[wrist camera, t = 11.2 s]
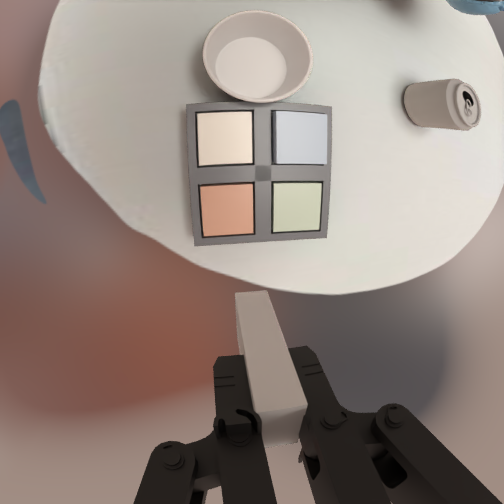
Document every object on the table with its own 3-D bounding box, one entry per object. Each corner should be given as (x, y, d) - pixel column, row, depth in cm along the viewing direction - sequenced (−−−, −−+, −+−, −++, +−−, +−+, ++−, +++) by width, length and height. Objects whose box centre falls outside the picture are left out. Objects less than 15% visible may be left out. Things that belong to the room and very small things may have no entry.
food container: (273, 124, 32) (286, 121, 26) (188, 88, 29) (182, 76, 23) (310, 54, 28) (329, 40, 22) (230, 18, 25) (234, -4, 19)
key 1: (269, 180, 33) (273, 183, 31) (314, 180, 34) (321, 183, 32) (269, 225, 36) (273, 231, 33) (312, 223, 36) (319, 229, 34)
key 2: (201, 183, 32) (200, 186, 30) (249, 181, 33) (252, 184, 31) (204, 229, 35) (203, 236, 32) (250, 226, 35) (253, 233, 33)
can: (434, 96, 32) (486, 96, 21) (428, 133, 35) (481, 141, 24) (404, 75, 30) (456, 67, 19) (397, 115, 33) (452, 115, 22)
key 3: (271, 113, 29) (276, 110, 26) (319, 115, 29) (327, 114, 27) (271, 161, 31) (276, 163, 29) (318, 162, 32) (326, 164, 29)
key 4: (198, 115, 29) (197, 113, 27) (248, 113, 30) (251, 111, 27) (200, 163, 31) (199, 165, 29) (249, 161, 32) (252, 162, 30)
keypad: (189, 108, 30) (186, 104, 26) (319, 109, 32) (331, 106, 28) (196, 235, 36) (194, 246, 33) (316, 228, 38) (326, 237, 35)
